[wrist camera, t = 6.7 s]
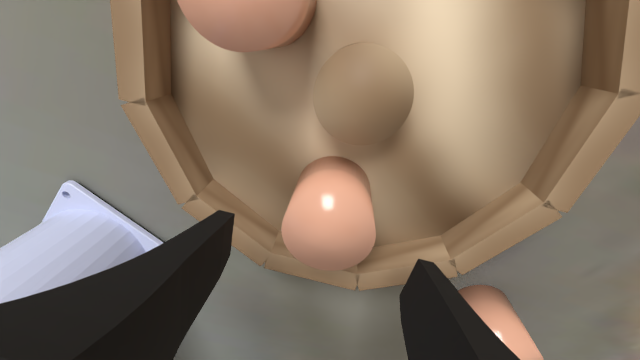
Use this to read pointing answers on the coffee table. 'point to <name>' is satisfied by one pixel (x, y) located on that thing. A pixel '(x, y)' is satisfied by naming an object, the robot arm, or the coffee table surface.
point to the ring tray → (443, 130)
